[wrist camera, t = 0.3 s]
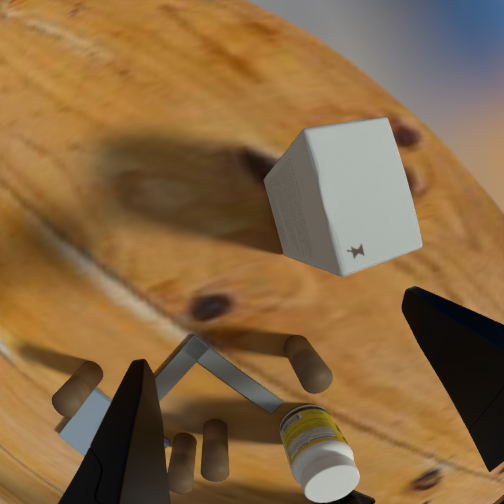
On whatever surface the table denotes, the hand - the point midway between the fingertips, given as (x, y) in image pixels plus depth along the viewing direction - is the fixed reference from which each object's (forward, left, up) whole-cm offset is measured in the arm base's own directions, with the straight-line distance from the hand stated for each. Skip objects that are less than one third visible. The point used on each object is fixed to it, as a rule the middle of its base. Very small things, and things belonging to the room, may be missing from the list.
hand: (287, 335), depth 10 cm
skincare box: (0, -6, -14) cm, 16 cm away
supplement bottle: (-13, +7, -14) cm, 20 cm away
